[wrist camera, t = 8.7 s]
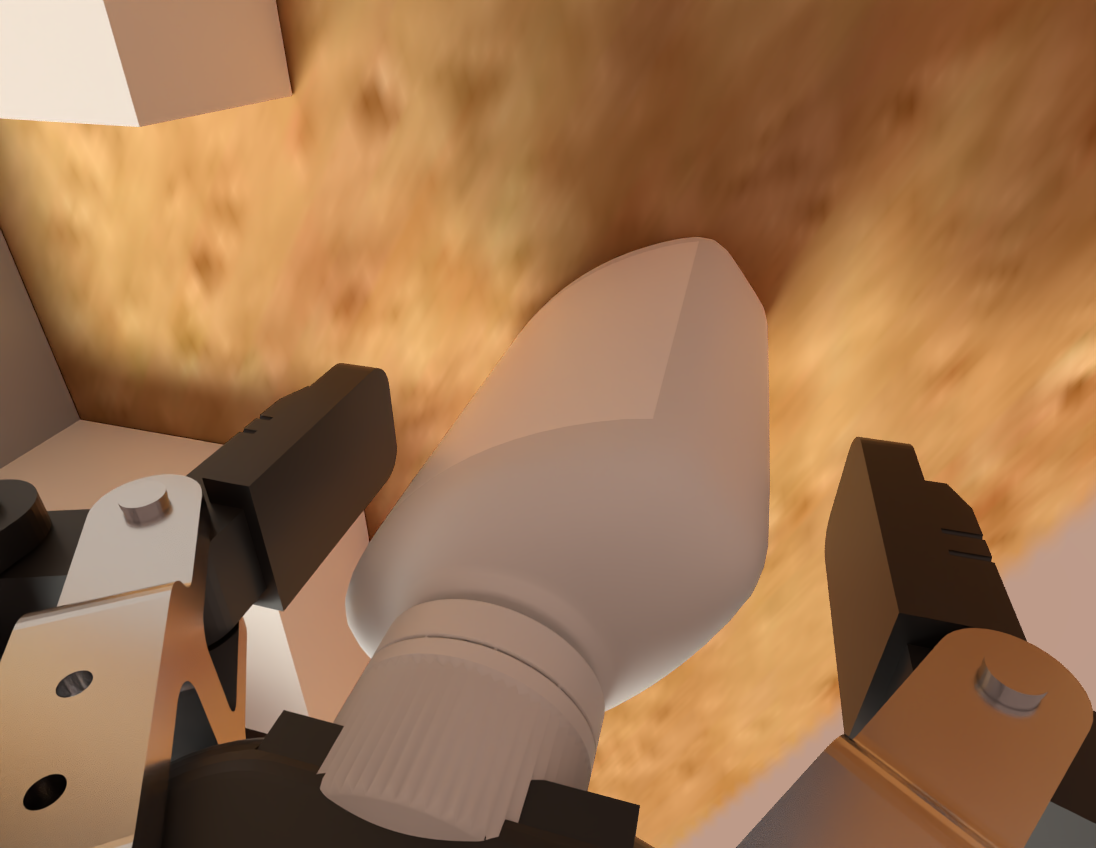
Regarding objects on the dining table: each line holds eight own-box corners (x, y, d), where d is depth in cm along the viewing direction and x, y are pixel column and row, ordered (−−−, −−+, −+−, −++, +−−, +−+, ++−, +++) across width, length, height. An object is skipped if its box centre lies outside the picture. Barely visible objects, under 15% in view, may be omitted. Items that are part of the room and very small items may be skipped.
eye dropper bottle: (481, 249, 14) (-179, 836, 4) (767, 224, 12) (788, 1114, 2) (518, 430, 16) (139, 1101, 6) (767, 430, 14) (778, 1347, 5)
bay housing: (-428, -314, 13) (-834, -421, 10) (207, -397, 10) (-68, -594, 7) (31, 552, 25) (-82, 637, 21) (385, 633, 22) (318, 747, 18)
